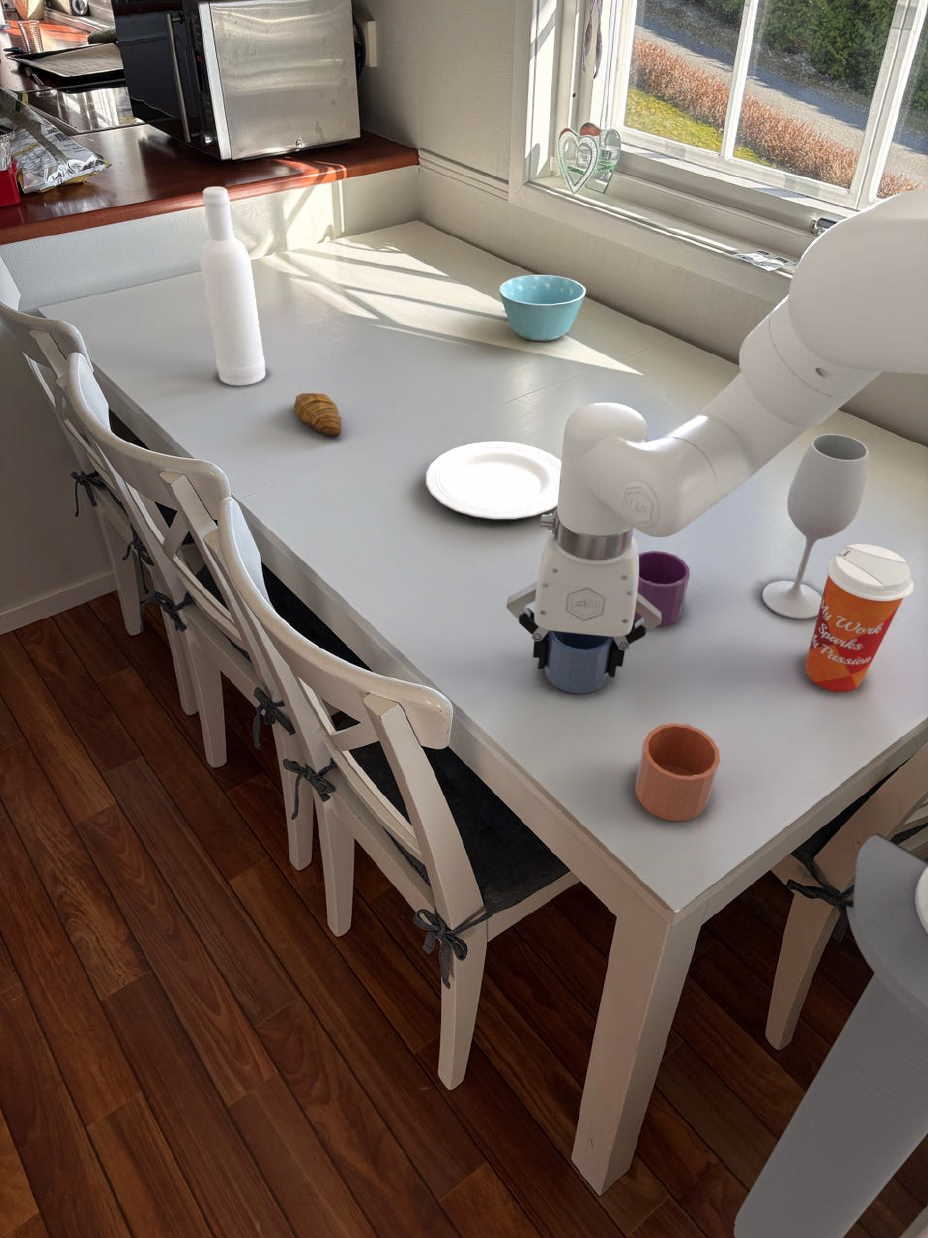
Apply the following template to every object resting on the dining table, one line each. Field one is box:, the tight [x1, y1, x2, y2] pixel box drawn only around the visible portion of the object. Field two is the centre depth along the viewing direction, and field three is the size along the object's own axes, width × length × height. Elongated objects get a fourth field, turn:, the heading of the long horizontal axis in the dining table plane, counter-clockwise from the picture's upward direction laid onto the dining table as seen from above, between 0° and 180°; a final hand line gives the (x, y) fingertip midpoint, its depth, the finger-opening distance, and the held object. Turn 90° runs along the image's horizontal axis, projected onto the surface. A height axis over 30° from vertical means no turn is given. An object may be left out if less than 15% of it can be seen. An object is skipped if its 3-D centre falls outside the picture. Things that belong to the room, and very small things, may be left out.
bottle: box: [199, 186, 266, 387], centre depth 148 cm, size 8×8×30 cm
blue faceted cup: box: [544, 630, 614, 695], centre depth 100 cm, size 7×7×6 cm
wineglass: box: [761, 433, 870, 620], centre depth 105 cm, size 8×8×21 cm
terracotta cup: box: [634, 722, 721, 822], centre depth 87 cm, size 7×7×6 cm
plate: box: [425, 441, 562, 521], centre depth 130 cm, size 21×21×2 cm
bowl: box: [498, 274, 587, 342], centre depth 171 cm, size 16×16×8 cm
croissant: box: [293, 392, 342, 438], centre depth 144 cm, size 14×7×5 cm, turn 32°
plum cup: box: [634, 550, 691, 628], centre depth 109 cm, size 7×7×6 cm
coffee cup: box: [805, 543, 915, 693], centre depth 97 cm, size 8×8×15 cm
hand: (576, 663), depth 101 cm, fingers closed on blue faceted cup, 7 cm apart
